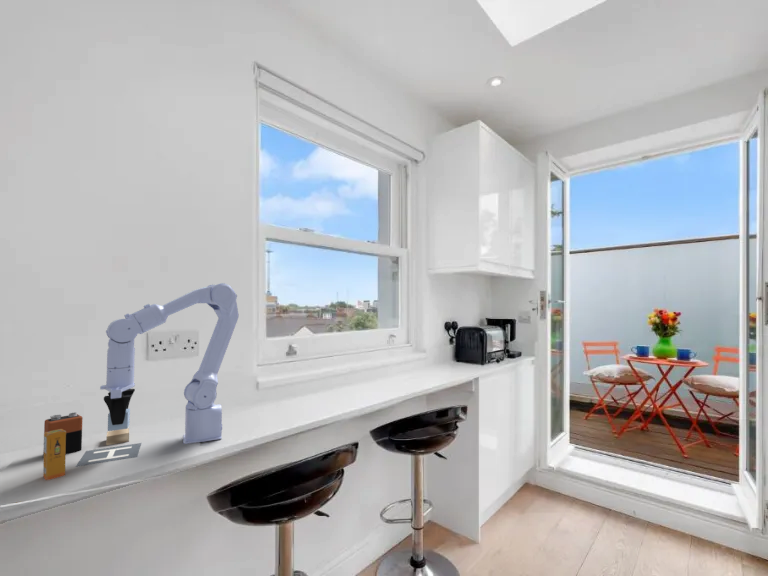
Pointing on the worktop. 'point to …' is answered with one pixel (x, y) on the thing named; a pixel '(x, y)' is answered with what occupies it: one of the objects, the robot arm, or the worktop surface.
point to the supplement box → (54, 454)
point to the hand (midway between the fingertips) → (119, 421)
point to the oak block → (117, 436)
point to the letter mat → (109, 454)
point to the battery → (67, 430)
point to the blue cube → (120, 426)
